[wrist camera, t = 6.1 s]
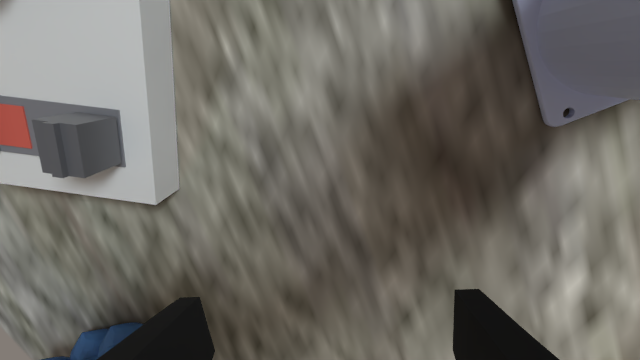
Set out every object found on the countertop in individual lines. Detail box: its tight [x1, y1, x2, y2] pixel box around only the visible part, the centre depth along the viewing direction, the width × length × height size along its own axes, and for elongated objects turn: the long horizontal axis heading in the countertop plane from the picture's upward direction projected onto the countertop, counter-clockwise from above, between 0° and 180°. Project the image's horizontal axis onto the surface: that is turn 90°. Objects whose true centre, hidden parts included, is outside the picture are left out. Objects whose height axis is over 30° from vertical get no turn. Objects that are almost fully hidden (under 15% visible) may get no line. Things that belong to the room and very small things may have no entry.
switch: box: [32, 112, 121, 178], centre depth 15 cm, size 2×2×3 cm
